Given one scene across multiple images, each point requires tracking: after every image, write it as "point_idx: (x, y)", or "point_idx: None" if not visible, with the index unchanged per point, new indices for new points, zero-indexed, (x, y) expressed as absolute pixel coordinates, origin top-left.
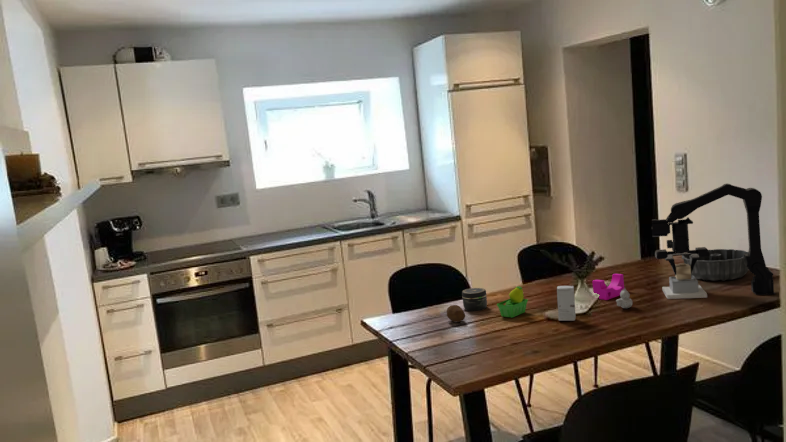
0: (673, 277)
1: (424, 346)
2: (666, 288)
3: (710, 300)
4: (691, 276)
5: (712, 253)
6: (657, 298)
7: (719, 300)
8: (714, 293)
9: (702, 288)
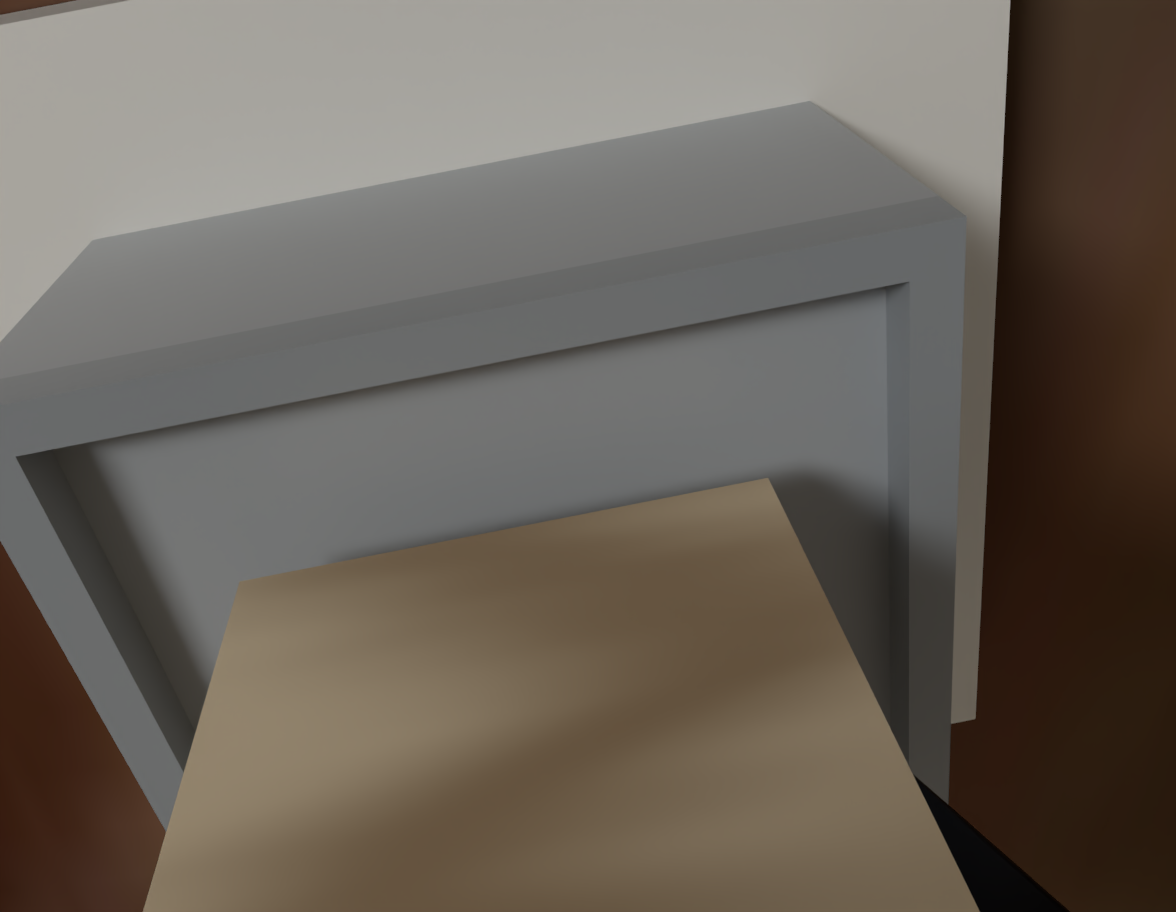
0: (141, 419)
1: None
2: (9, 302)
3: (951, 805)
4: (865, 281)
5: None
6: (25, 785)
7: (1083, 793)
8: (1165, 349)
9: (993, 288)
